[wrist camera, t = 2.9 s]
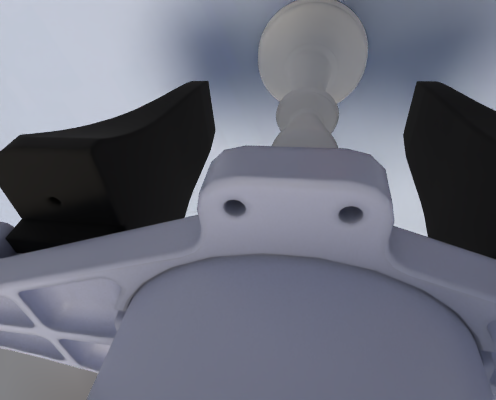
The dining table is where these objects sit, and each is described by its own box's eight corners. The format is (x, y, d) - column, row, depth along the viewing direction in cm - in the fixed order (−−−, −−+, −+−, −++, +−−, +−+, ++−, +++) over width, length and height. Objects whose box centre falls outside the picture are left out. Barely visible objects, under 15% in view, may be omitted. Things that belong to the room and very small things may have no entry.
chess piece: (248, 8, 15) (179, 129, 8) (368, -15, 14) (413, 102, 7) (268, 111, 19) (231, 264, 11) (367, 99, 17) (398, 264, 10)
